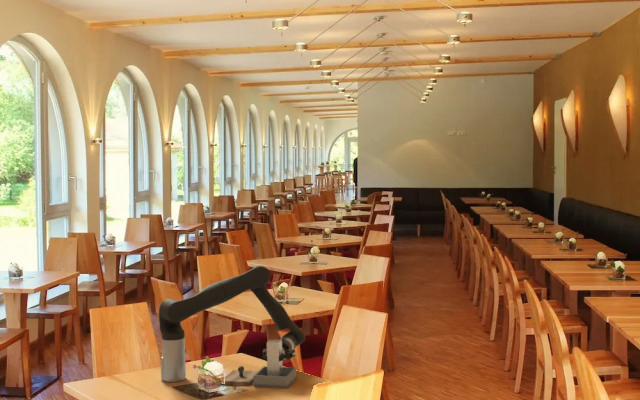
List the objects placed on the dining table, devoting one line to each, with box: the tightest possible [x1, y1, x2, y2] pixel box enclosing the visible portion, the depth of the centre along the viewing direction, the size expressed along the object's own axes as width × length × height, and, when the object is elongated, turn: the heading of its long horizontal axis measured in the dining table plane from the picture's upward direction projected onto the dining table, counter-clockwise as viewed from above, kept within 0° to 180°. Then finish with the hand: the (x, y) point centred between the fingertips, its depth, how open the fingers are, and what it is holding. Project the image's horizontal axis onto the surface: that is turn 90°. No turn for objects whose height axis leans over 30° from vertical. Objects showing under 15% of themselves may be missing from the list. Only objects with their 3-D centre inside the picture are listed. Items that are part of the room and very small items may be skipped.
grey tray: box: [252, 365, 297, 389], centre depth 310 cm, size 14×14×4 cm
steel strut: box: [266, 339, 284, 376], centre depth 310 cm, size 5×5×14 cm
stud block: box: [224, 365, 259, 387], centre depth 316 cm, size 12×16×6 cm
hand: (273, 358), depth 308 cm, fingers closed on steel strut, 5 cm apart
